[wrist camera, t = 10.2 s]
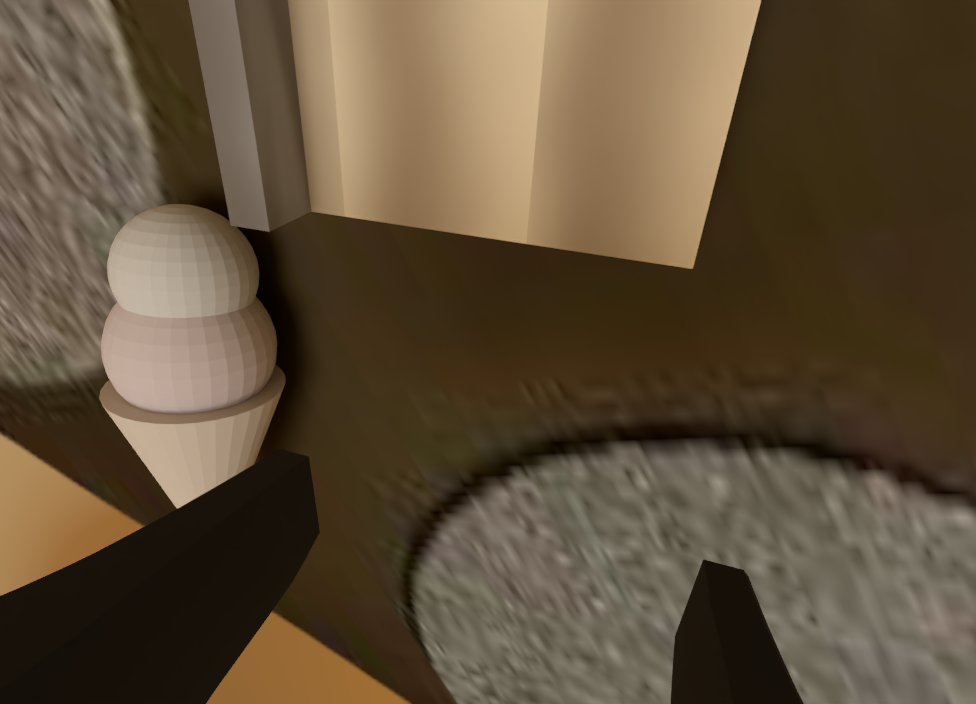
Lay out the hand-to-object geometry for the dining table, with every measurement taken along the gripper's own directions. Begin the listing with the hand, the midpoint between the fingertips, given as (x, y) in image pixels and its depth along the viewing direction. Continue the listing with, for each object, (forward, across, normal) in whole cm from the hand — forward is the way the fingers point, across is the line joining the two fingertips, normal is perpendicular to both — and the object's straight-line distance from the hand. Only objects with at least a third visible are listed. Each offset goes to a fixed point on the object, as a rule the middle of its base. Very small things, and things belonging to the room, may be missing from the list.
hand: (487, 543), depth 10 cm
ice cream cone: (+10, +13, +5) cm, 17 cm away
